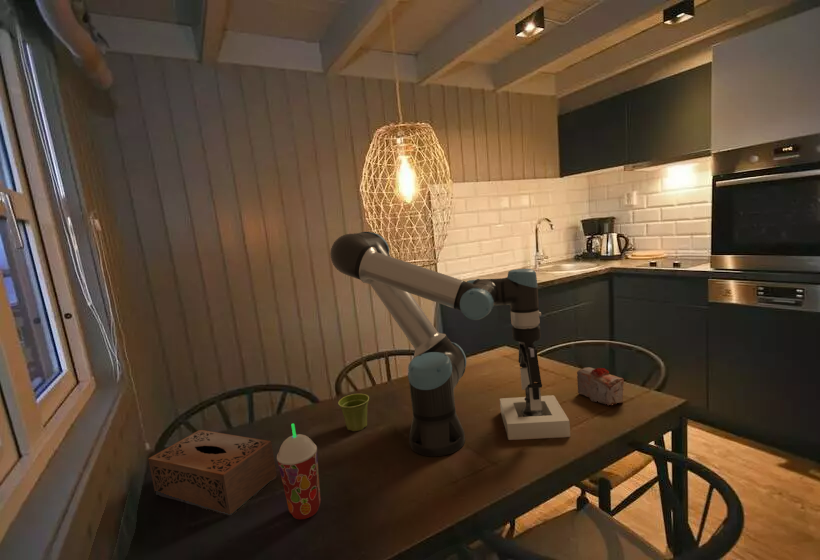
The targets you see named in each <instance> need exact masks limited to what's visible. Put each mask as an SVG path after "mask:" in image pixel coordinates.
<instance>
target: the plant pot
mask: <svg viewBox="0 0 820 560" xmlns="http://www.w3.org/2000/svg"><path fill="white" fill-rule="evenodd" d="M369 400H370V396H369V395H368V394H365V393H352V394H349V395H345V396H343V397H342V398H340V399H339V400H338V401H337V404H338V406H339V407H340V410H341V411H342V414H343V420H344V422H345V425H346V429H347V431H352V432H359V431H362V430H363V429H364V428H366V427H367V426H368V405H369Z"/></svg>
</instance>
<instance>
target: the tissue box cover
mask: <svg viewBox="0 0 820 560" xmlns="http://www.w3.org/2000/svg"><path fill="white" fill-rule="evenodd" d="M272 444H273V443H272V441H271V440H266V439H261V438H260V439H259V438H254V437H247V436H241V435H236V434H229V433H223V432H217V431H209V430H204V429H203V430H202V429H199V430H197V431H195V432H193V433H191V434H190V435H188V436H186V437H185V438H182V439H181V440H179V441H177V442H175V443H174V444H172V445H170V446H168V447H166V448H165V449H162V450H161V451H159V452H157V453H156V454H154V455H152V456H150V457H148V459H147V460H148V464H149V469H150V474H151V480H152V485H153V490H154V492H155V491H158V492H161V493H164V494H166V495H169V496H172V497H175V498H179V499H182V500H185V501H189V502H192V503H195V504H198V505H201V506H204V507H208V508H211V509H215V510H218V511H221V512H225V513H228V514H231V513H233V512H234V511H235V510H236V509H237V508H238V507H240V506H241V505H242V504H243V503H244V502H245V501H247V500H248V499H249V498H250V497H251V496H253V495H254V494H255V493H256V492H257V491H258V490H260V489H261V488H262V487H263V486H264V485H265V484H267V483H268V482H269V481H270V480H272V479H273V478H274V477H275V476H276V475H277V470H276V469H277V468H276V462H275V457H274V456H275V455H274V451H273V445H272Z"/></svg>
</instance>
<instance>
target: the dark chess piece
mask: <svg viewBox="0 0 820 560" xmlns="http://www.w3.org/2000/svg"><path fill="white" fill-rule="evenodd" d="M529 385H530V384H529ZM524 392H525V397H526V398H525V401H526V408H524V409H523V410H522V411H521V413H522V414H523V417H529V416H542V414H543V411H542V410H532V411H531V406H530V392H529V388H528V387H526V388H525V390H524Z"/></svg>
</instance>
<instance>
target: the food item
mask: <svg viewBox="0 0 820 560" xmlns="http://www.w3.org/2000/svg"><path fill="white" fill-rule="evenodd" d="M576 377H577V382H576V383H577V393H578V394H579V395H582V396H585V397H587V398H589V400H590V401H591V402H594V403H595V402H596V403H597V401H598V403H600V404H603V405H606V404H607V405H606V406H608V407H609V405H611V406H613V405H612V404H615V405H618V404H617V403H619V404H622V403H623V402H624V400H623V399H624V390H625V389H624V382H625V381H624V378H623V377H619V376H616V375H614V374H610V371H609V370H608V369H606V368H605V367H604V368H603V367H596V368H593V367H583V368H581V369H578V370H577V372H576Z"/></svg>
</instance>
